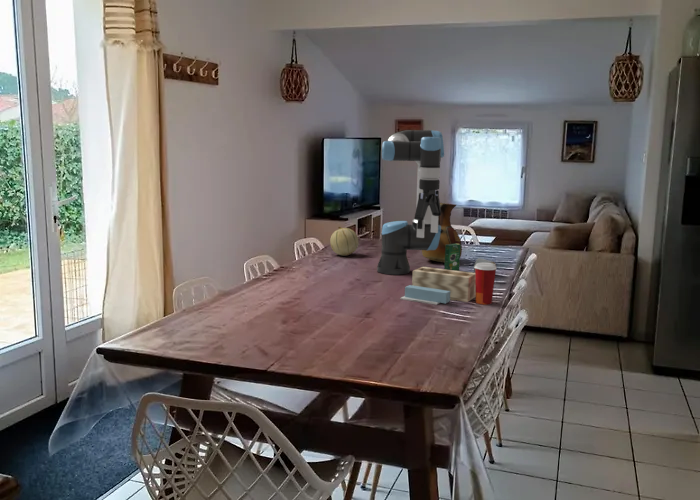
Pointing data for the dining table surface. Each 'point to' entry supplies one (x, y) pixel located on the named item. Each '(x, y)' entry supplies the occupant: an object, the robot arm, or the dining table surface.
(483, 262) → the ceramic mug
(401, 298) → the mat
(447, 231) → the ceramic pitcher
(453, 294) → the jig
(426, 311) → the dining table surface
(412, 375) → the dining table surface
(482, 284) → the coffee cup
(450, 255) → the coffee box
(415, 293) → the bar
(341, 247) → the cantaloupe
